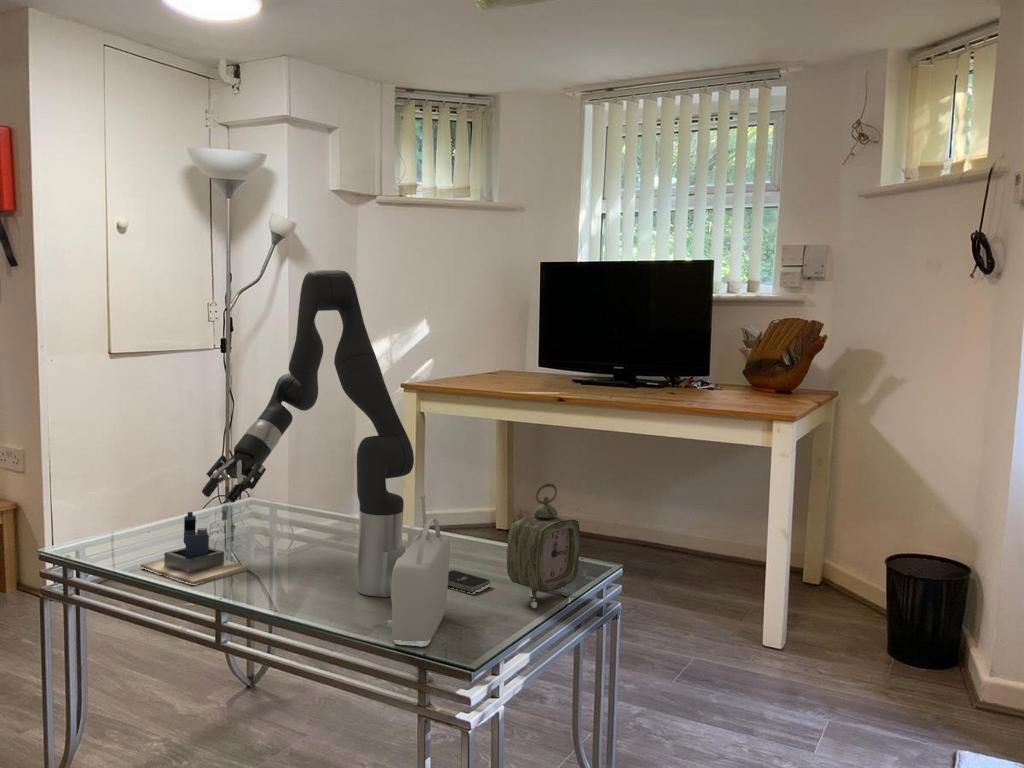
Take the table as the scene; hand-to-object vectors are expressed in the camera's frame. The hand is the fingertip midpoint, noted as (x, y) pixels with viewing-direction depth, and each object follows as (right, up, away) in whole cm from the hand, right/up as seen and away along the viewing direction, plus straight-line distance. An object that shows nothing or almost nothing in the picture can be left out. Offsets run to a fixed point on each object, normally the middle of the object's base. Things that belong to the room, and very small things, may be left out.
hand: (217, 497), depth 181 cm
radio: (+49, -20, -32) cm, 62 cm away
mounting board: (-4, -16, -4) cm, 16 cm away
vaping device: (-3, -15, -4) cm, 16 cm away
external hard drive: (+56, -19, -5) cm, 60 cm away
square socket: (-4, -16, -4) cm, 16 cm away
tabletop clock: (+73, -20, -12) cm, 77 cm away
